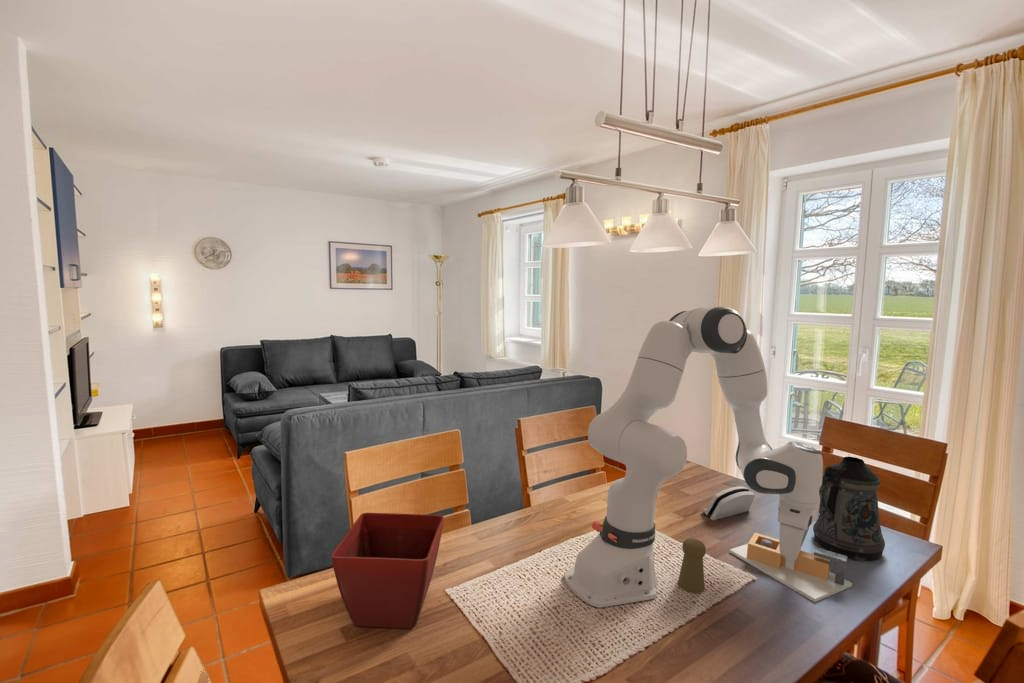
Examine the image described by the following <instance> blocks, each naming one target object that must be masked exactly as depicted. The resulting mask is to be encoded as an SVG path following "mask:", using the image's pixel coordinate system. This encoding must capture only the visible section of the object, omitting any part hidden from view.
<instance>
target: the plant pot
mask: <svg viewBox="0 0 1024 683" xmlns="http://www.w3.org/2000/svg"><path fill="white" fill-rule="evenodd" d="M444 518H445V517H444V516H443V515H440V514H424V513H423V514H421V513H420V514H419V513H418V514H417V513H415V514H414V513H395V512H394V513H393V512H391V513H390V512H389V513H388V512H386V513H385V512H363V513H361V514H360V515H359V516H358V518H357V519H356V521H355V522H354V523H353V525H352V526H351V528H349V530H348V531H347V533H346V534H345V536H344V537H343V539H342V540H341V541H340V542H339V544H338V545H337V546H336V548H335V549H334V550H333V551H332V553H331V562H332V566H333V570H334V571H333V572H334V575H335V579H336V583H337V587H338V590H339V594H340V595H341V599H342V602H343V604H344V607H345V609H346V611H347V613H348V615H349V618H350V620H351V621H352V624H353V625H354V626H356V627H369V628H371V627H373V628H391V629H394V628H395V629H412V628H415V627H416V626H417V624H418V621H419V618H420V615H421V612H422V608H423V605H424V602H425V599H426V596H427V593H428V591H429V588H430V584H431V581H432V578H433V574H434V570H435V566H436V562H437V558H438V553H439V549H440V544H441V539H442V533H443V526H444Z"/></svg>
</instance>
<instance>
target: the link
mask: <svg viewBox="0 0 1024 683" xmlns="http://www.w3.org/2000/svg"><path fill="white" fill-rule="evenodd" d="M763 539H766V540H769V541H771V542H772V549H771V548H768V547H765V546H762V545H761V540H763ZM747 544H748V549H747V558H748V559H751V560H754V561H757V562H760V563H763V564H766V565H769V566H772V567H775V568H778V569H780V566H781V565H782V566H785V565H786V559H785V556H783V555H781V554H780V549H779V538H774V537H772V536H767V535H764V534H761V533H757V532H754V533H753V535H752V536H751V538H750V539H749V542H748V543H747ZM830 565H831V560H829V559H826V558H822V557H819V556H816V555H814V553H810V552H806V551H804V550H802V549H801V550H800V552H799V554H798V557H797V559H795V566H794V570H797V571H800V572H803V573H806V574H809V575H812V576H815V577H818V578H822V579H825V580H828V576H829V571H830V569H831V566H830ZM785 567H786V566H785Z"/></svg>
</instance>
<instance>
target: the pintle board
mask: <svg viewBox="0 0 1024 683" xmlns="http://www.w3.org/2000/svg"><path fill="white" fill-rule="evenodd" d="M761 545H762V546H765V547H768V548H771V549H772V542H771V541H769V540H766V539H763V540H761ZM747 549H748V543H746V544H743V545H739V546H736V547H733V548H730V549H729V553H730V554H732V555H734V556H735V557H737V558H738V559H741V560H742V561H744V562H745V563H746V564H747V563H748V564H749V565H750V566H752V567H754V568H756V569H757V570H759V571H761V572H762V573H764V574H766V575H768V576H769V577H771V578H773V579H774V580H776V581H777V582H779V583H781V584H783V585H785V586H786V587H788V588H790V589H792V590H793V591H794V592H796V593H798V594H800V595H802V597H805V598H807V599H808V600H811V601H812V602H813V603H817V602H818V601H821V600H823V599H825V598H828V597H831V596H832V595H835V594H838V593H839V592H842V591H844V590H846V589H849V588H851V587H853V582H851V581H850V580H847V579H845V581H844V586H843V585H840V584H837V583H835V574H836V573H835V572H834V573H833V572H831V571H830V570H829V576H828V580H825V579H822V578H818V577H815V576H812V575H809V574H806V573H803V572H800V571H797V570H794V569H793V570H791V569H788V568H786V567H785V566H782V565H781V566H780V569H778V568H775V567H772V566H769V565H766V564H763V563H760V562H757V561H754V560H751V559H748V558H747Z"/></svg>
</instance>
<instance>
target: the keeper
mask: <svg viewBox="0 0 1024 683" xmlns="http://www.w3.org/2000/svg"><path fill="white" fill-rule="evenodd" d="M813 554H814V555H816V556H819V557H822V558H826V559H829V560H830V561H833V562H835V563H836V566H835V573H834V574H835V583H837V584H840V585H843V586H844V581H845V580H846V570H847V562H848V558H847V556H845V555H841V554H838V553H835V552H831V551H828V550H826V549H824V548H822V547H817V546H815V547H814V550H813Z"/></svg>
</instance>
